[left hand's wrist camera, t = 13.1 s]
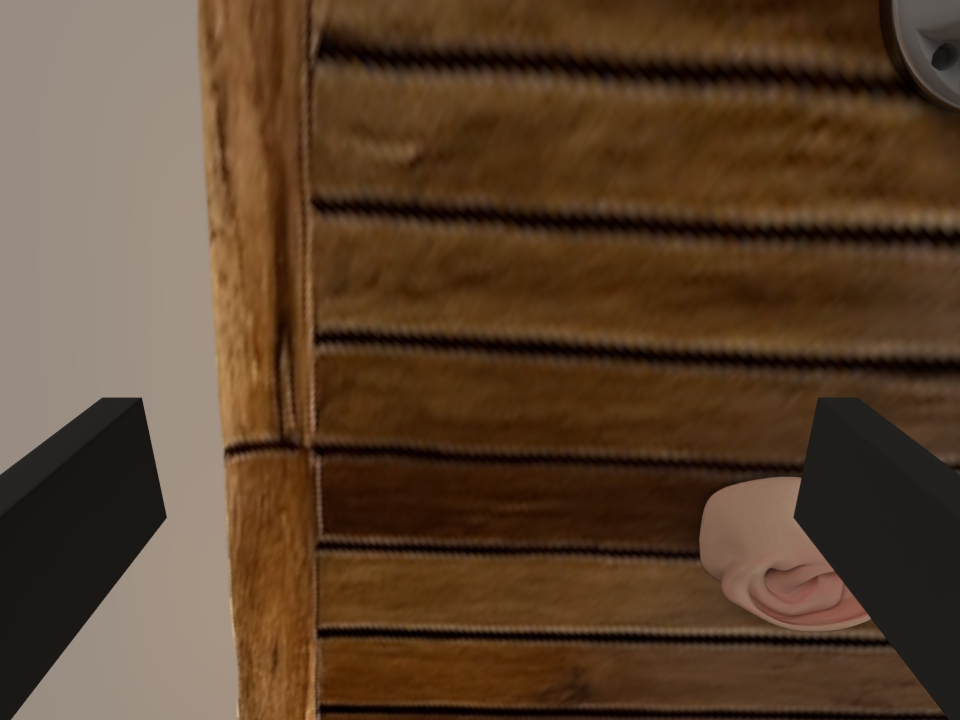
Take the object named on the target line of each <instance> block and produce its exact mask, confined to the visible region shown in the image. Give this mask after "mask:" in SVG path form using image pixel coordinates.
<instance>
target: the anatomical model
mask: <svg viewBox="0 0 960 720" xmlns="http://www.w3.org/2000/svg"><path fill="white" fill-rule="evenodd" d="M800 483H801V478H798V477H773V478H764V479H758V480H752V481H747V482H742V483H739V484H735V485H731V486H728V487H725V488H723V489H721V490H719V491H717V492H716V493H715V494H713V495H712V496H711V497H710V498H709V500H708V501H707V503H706V506H705V509H704V512H703V516H702V523H701V530H700V539H699V543H700V558H701V562H702V565H703V567H704V568H705V569H706V570H707V571H708V572H709V573H710V574H711V575H712V576H714V577H715V578H717V579H718V580H720V581H721V588H722V591H723V593H724V595H725V597H726V598H727V599H729V600H730V601H731V602H733V603H735V604H737V605H739V606H740V607H742V608H744V609H746V610H748V611H749V612H751V613H753V614H755V615H756V616H758V617H760V618H762V619H764V620H766V621H768V622H770V623H772V624H774V625H777V626H780V627H783V628H787V629H791V630H797V631H832V630H838V629H843V628H847V627H851V626H854V625H858V624H860V623H863V622H865V621H868V620H870V619H871V618H870V616H869V615H868V614H867V613H866V611H865V610H864V609H863V607H862V606H861V605H860V604H859V602H858V601H857V600H856V598H855V597H854V596H853V594H852V593H851V592H850V591H849V589H848V588H847V587H846V585H845V584H844V583H843V581H842V580H841V579H840V578H839V576H838V575H837V574H836V572H835V571H834V570H833V569H832V567H831V566H830V565H829V563H828V562H827V561H826V559H825V558H824V557H823V556H822V554H821V553H820V552H819V550H818V549H817V548H816V546H815V545H814V544H813V543H812V541H811V540H810V539H809V537H808V536H807V535H806V534H805V532H804V531H803V530H802V528H801V527H800V526H799V524H798V523H797V522H796V521H795V519H794V518H793V516H794V511H795V507H796V502H797V497H798V492H799V487H800Z"/></svg>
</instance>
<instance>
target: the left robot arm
mask: <svg viewBox="0 0 960 720" xmlns="http://www.w3.org/2000/svg"><path fill="white" fill-rule="evenodd" d="M879 1H880V19H881V27H882V31H883V36H884V40H885V43H886V46H887V49H888V52H889V54H890V56H891V59H892V61H893V63H894V65H895V66H896V68H897V70H898V71H899V73H900V75H901V76H902V77H903V78H904V80H905V81H906V82H907V83H908V85H910V86H911V87H912V88H913V89H914V90H915V91H916V92H917V93H918V94H919V95H921V96H922V97H923V98H925V99H926V100H928V101H929V102H931V103H933V104H935V105H936V106H939V107H941V108H943V109H946V110H949V111H952V112H956V113H960V0H879ZM166 518H167V516H166V511H165V507H164V502H163V497H162V492H161V487H160V483H159V478H158V473H157V468H156V463H155V459H154V454H153V449H152V444H151V440H150V435H149V430H148V425H147V420H146V415H145V411H144V406H143V401H142V398H101V399H100V400H99V401H97V402H96V403H95V404H93V405H92V406H91V407H89V408H88V409H87V410H85V411H84V412H83V413H81V414H80V415H79V416H77V417H76V418H75V419H74V420H72V421H71V422H70V423H68V424H67V425H66V426H64V427H63V428H62V429H60V430H59V431H58V432H56V433H55V434H54V435H52V436H51V437H50V438H48V439H47V440H46V441H44V442H43V443H42V444H41V445H39V446H38V447H37V448H35V449H34V450H33V451H31V452H30V453H29V454H27V455H26V456H25V457H23V458H22V459H21V460H19V461H18V462H17V463H15V464H14V465H13V466H11V467H10V468H9V469H7V470H6V471H5V472H4V473H2V474H1V475H0V720H11V719H12V718H13V716H14V715H15V714H16V712H17V711H18V710H19V708H20V707H21V706H22V705H23V703H24V702H25V701H26V699H27V698H28V697H29V695H30V694H31V693H32V692H33V690H34V689H35V688H36V686H37V685H38V684H39V683H40V681H41V680H42V679H43V677H44V676H45V675H46V674H47V672H48V671H49V670H50V668H51V667H52V666H53V664H54V663H55V662H56V660H57V659H58V658H59V657H60V655H61V654H62V653H63V651H64V650H65V649H66V648H67V646H68V645H69V644H70V642H71V641H72V640H73V639H74V637H75V636H76V635H77V633H78V632H79V631H80V629H81V628H82V627H83V625H84V624H85V623H86V622H87V620H88V619H89V618H90V616H91V615H92V614H93V613H94V611H95V610H96V609H97V607H98V606H99V605H100V603H101V602H102V601H103V600H104V598H105V597H106V596H107V594H108V593H109V592H110V590H111V589H112V588H113V587H114V585H115V584H116V583H117V581H118V580H119V579H120V578H121V576H122V575H123V574H124V572H125V571H126V570H127V569H128V567H129V566H130V565H131V563H132V562H133V561H134V559H135V558H136V557H137V556H138V554H139V553H140V552H141V550H142V549H143V548H144V546H145V545H146V544H147V542H148V541H149V540H150V539H151V537H152V536H153V535H154V533H155V532H156V531H157V530H158V528H159V527H160V526H161V524H162V523H163V522H164V521H165V519H166ZM793 518H794V519H795V521H796V522H797V523H798V524H799V526H800V527H801V528H802V530H803V531H804V532H805V534H806V535H807V536H808V537H809V539H810V540H811V541H812V543H813V544H814V545H815V546H816V548H817V549H818V550H819V552H820V553H821V554H822V556H823V557H824V558H825V559H826V561H827V562H828V563H829V565H830V566H831V567H832V569H833V570H834V571H835V572H836V574H837V575H838V576H839V578H840V579H841V580H842V581H843V583H844V584H845V585H846V587H847V588H848V589H849V591H850V592H851V593H852V594H853V596H854V597H855V598H856V600H857V601H858V602H859V604H860V605H861V606H862V607H863V609H864V610H865V611H866V613H867V614H868V615H869V616H870V618H871V619H872V620H873V622H874V623H875V624H876V626H877V627H878V628H879V629H880V631H881V632H882V633H883V635H884V636H885V637H886V639H887V640H888V641H889V642H890V644H891V645H892V646H893V648H894V649H895V650H896V651H897V653H898V654H899V655H900V657H901V658H902V659H903V661H904V662H905V663H906V664H907V666H908V667H909V668H910V670H911V671H912V672H913V674H914V675H915V676H916V677H917V679H918V680H919V681H920V683H921V684H922V685H923V686H924V688H925V689H926V690H927V692H928V693H929V694H930V696H931V697H932V698H933V699H934V701H935V702H936V703H937V705H938V706H939V707H940V709H941V710H942V711H943V712H944V714H945V715H946V716H947V718H948V719H949V720H960V475H959V474H958V473H956V472H955V471H954V470H953V469H951V468H950V467H949V466H947V465H946V464H945V463H943V462H942V461H941V460H939V459H938V458H937V457H935V456H934V455H933V454H931V453H930V452H929V451H927V450H926V449H925V448H923V447H922V446H921V445H920V444H918V443H917V442H916V441H914V440H913V439H912V438H910V437H909V436H908V435H906V434H905V433H904V432H902V431H901V430H900V429H898V428H897V427H896V426H894V425H893V424H892V423H890V422H889V421H888V420H887V419H885V418H884V417H883V416H881V415H880V414H879V413H877V412H876V411H875V410H873V409H872V408H871V407H869V406H868V405H867V404H865V403H864V402H863V401H861V400H860V399H859V398H818V401H817V406H816V411H815V415H814V420H813V425H812V430H811V435H810V439H809V444H808V449H807V454H806V459H805V463H804V468H803V473H802V478H801V483H800V487H799V492H798V497H797V502H796V507H795V511H794V516H793Z"/></svg>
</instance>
